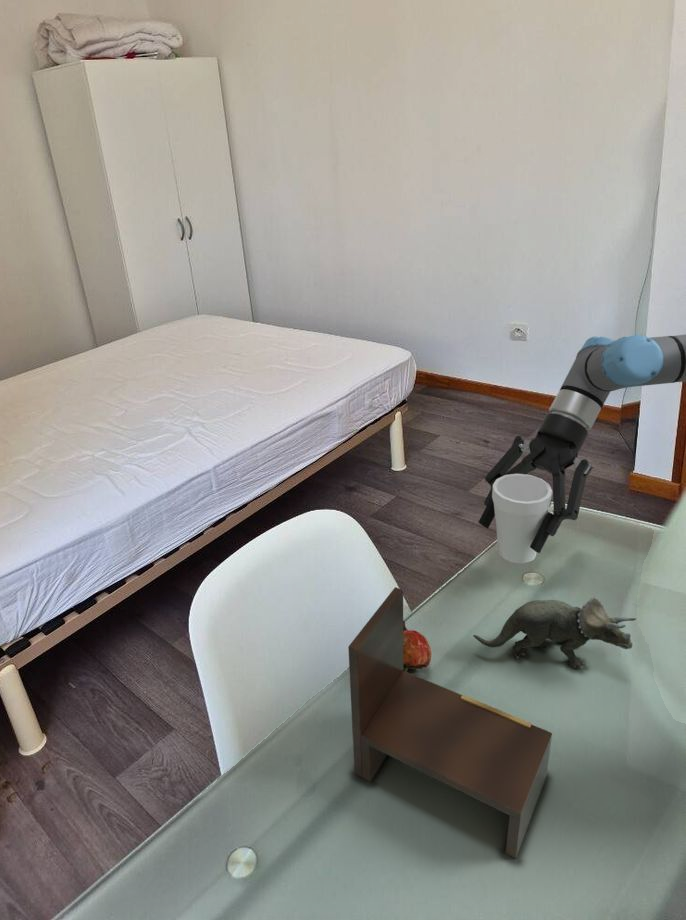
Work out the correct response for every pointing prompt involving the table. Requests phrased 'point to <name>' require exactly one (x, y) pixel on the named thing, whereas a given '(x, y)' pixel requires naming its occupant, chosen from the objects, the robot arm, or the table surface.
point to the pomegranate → (415, 650)
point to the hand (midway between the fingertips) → (508, 537)
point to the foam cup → (519, 514)
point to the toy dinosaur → (561, 627)
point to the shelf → (440, 728)
